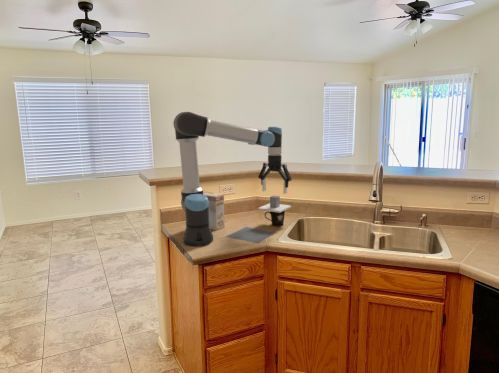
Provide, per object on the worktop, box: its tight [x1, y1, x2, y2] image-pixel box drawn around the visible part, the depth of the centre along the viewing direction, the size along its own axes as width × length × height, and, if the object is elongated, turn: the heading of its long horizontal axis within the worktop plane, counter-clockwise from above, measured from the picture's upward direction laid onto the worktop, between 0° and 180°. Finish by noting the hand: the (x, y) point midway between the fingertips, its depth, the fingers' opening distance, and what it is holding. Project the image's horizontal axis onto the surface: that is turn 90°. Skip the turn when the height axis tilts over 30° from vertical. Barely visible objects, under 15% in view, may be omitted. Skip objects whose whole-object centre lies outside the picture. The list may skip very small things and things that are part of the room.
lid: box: [257, 195, 292, 213], centre depth 209 cm, size 14×14×7 cm
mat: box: [225, 226, 278, 244], centre depth 194 cm, size 20×20×1 cm
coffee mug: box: [264, 210, 286, 227], centre depth 210 cm, size 12×9×10 cm
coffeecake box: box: [203, 191, 226, 231], centre depth 208 cm, size 15×7×20 cm, turn 50°
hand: (274, 192), depth 208 cm, fingers open, 13 cm apart
